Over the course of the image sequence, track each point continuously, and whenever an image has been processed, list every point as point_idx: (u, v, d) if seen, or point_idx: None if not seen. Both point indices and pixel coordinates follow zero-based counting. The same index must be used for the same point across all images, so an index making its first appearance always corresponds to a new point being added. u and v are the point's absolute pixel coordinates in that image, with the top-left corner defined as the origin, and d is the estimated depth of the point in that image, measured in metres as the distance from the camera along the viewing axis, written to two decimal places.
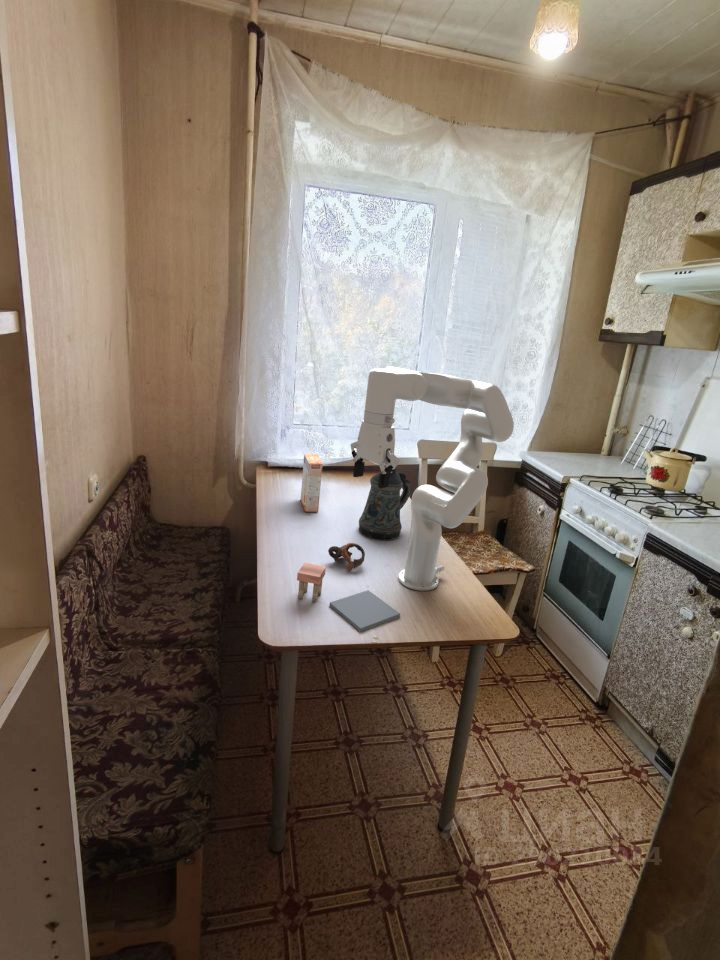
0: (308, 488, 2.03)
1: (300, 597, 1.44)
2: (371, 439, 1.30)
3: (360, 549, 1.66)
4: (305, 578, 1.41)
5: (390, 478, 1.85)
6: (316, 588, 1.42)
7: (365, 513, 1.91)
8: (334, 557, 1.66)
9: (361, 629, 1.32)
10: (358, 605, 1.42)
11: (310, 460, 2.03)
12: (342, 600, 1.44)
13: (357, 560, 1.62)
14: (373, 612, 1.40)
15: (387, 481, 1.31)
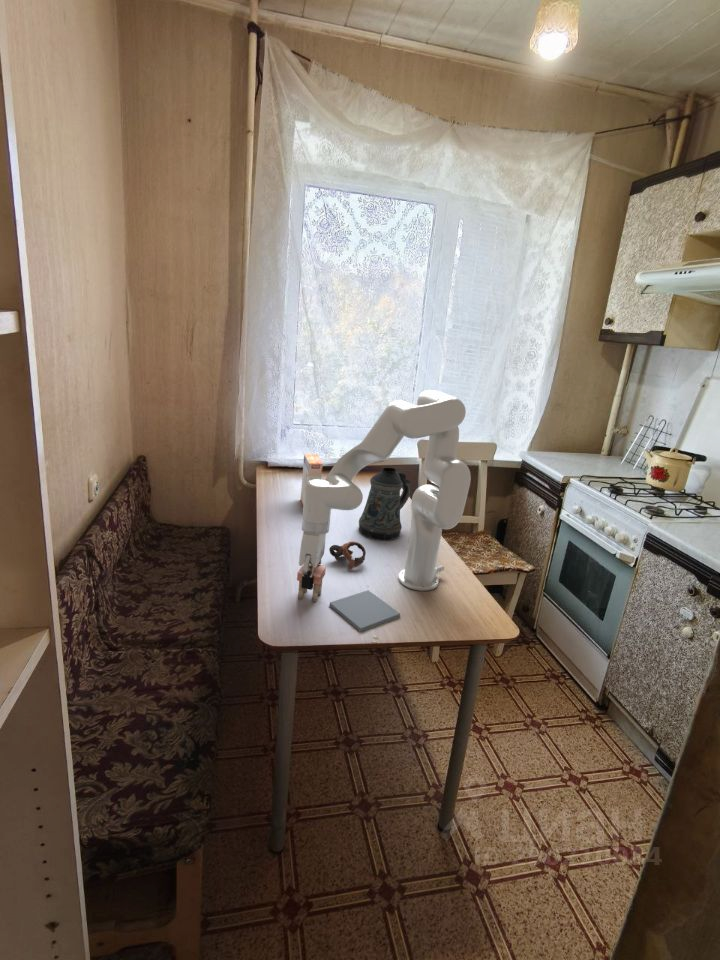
0: None
1: (300, 597, 1.44)
2: (323, 541, 1.42)
3: (361, 547, 1.67)
4: None
5: (390, 478, 1.85)
6: (316, 588, 1.42)
7: (365, 513, 1.91)
8: (335, 556, 1.67)
9: (361, 629, 1.32)
10: (358, 605, 1.42)
11: (310, 460, 2.03)
12: (342, 600, 1.44)
13: (358, 558, 1.63)
14: (373, 612, 1.40)
15: None
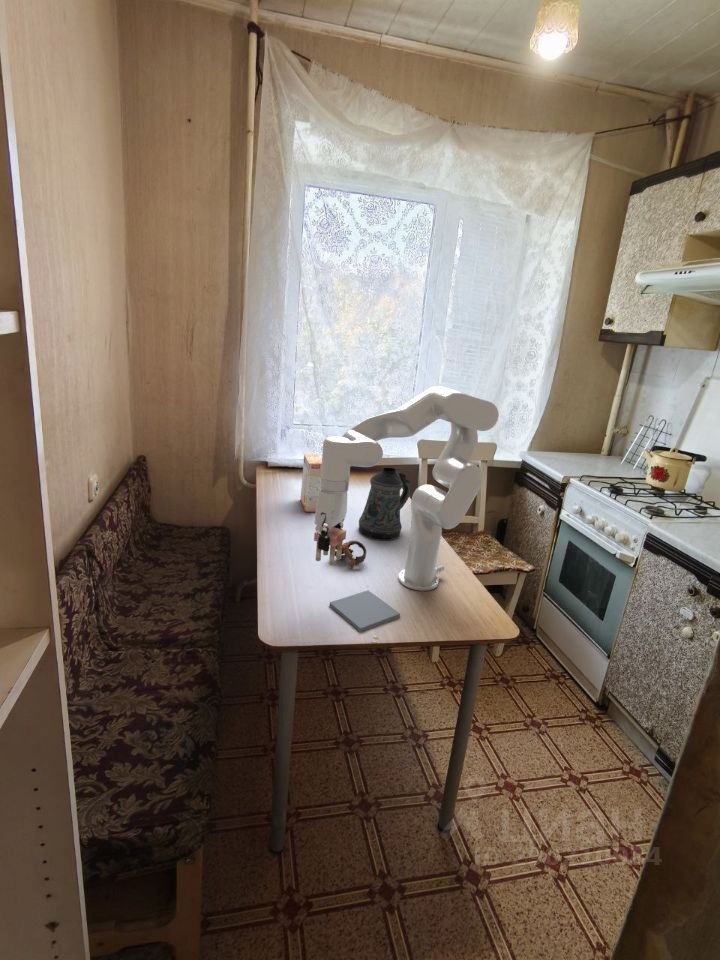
0: (308, 488, 2.03)
1: (317, 559, 1.40)
2: (343, 502, 1.36)
3: (361, 546, 1.68)
4: None
5: (390, 478, 1.85)
6: (332, 550, 1.37)
7: (365, 513, 1.91)
8: None
9: (361, 629, 1.32)
10: (358, 605, 1.42)
11: (310, 460, 2.03)
12: (342, 600, 1.44)
13: (359, 557, 1.64)
14: (373, 612, 1.40)
15: None
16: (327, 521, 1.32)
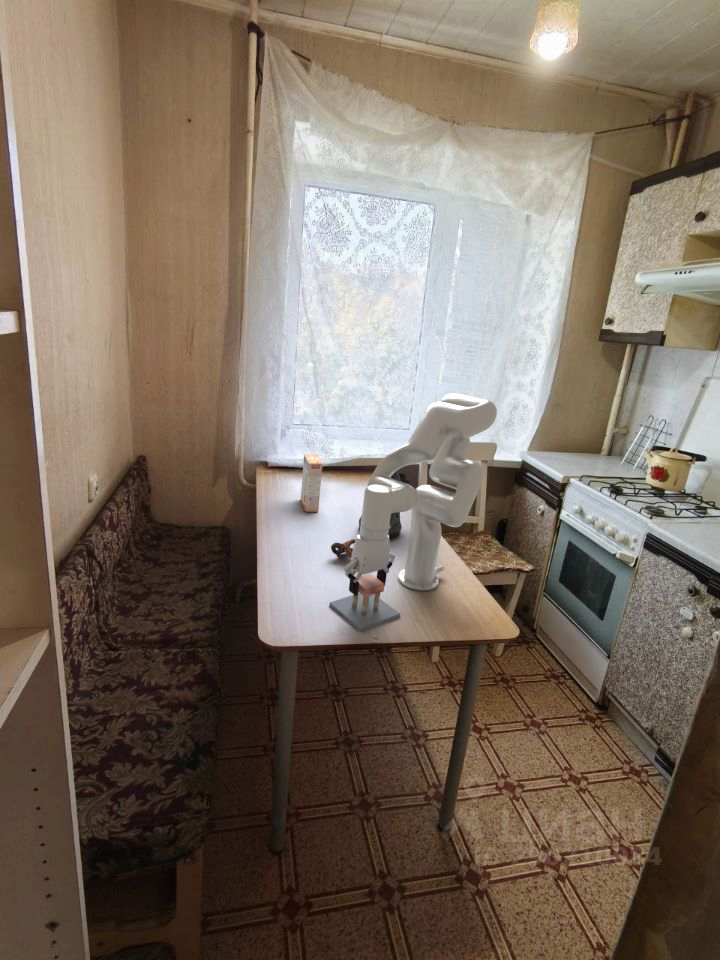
0: (308, 488, 2.03)
1: (353, 605, 1.41)
2: (380, 552, 1.35)
3: None
4: None
5: None
6: (364, 600, 1.37)
7: None
8: (337, 553, 1.69)
9: (361, 629, 1.32)
10: (358, 605, 1.42)
11: (310, 460, 2.03)
12: (342, 600, 1.44)
13: None
14: (373, 612, 1.40)
15: None
16: (359, 564, 1.33)
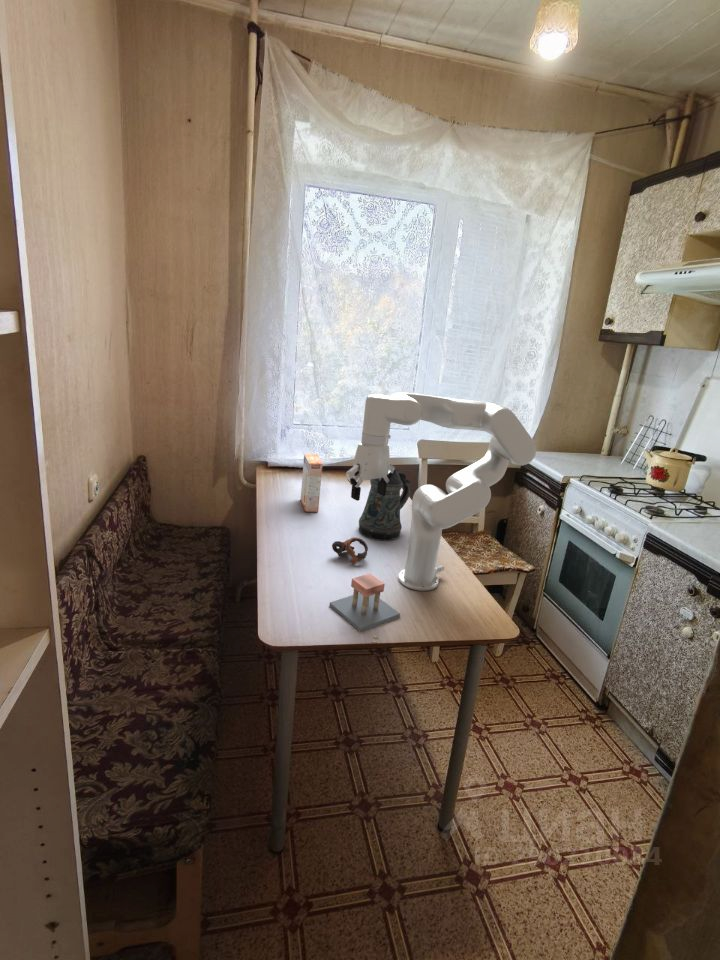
0: (308, 488, 2.03)
1: (353, 605, 1.41)
2: (381, 459, 1.43)
3: (363, 543, 1.71)
4: (356, 586, 1.38)
5: (390, 478, 1.85)
6: (364, 600, 1.37)
7: (365, 513, 1.91)
8: (338, 552, 1.70)
9: (361, 629, 1.32)
10: (358, 605, 1.42)
11: (310, 460, 2.03)
12: (342, 600, 1.44)
13: (361, 554, 1.67)
14: (373, 612, 1.40)
15: None
16: (361, 469, 1.41)
